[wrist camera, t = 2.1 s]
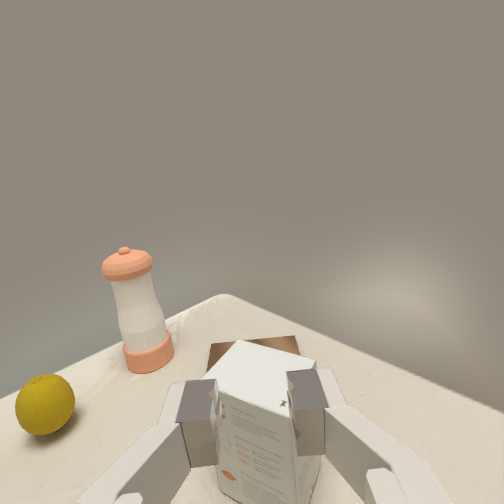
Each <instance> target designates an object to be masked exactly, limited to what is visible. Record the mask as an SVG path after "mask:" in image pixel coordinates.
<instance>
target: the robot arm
mask: <svg viewBox="0 0 504 504" xmlns="http://www.w3.org/2000/svg"><path fill="white" fill-rule="evenodd" d="M286 383H287V388H288V391H287V398H288V407H289V414H290V420H291V423H292V424H293V436H294V441H295V447H296V452H297V457H298V456H313V455H325V456H326V458H327V459H328V460H329V461H330V462H331V463H332V465H333V466H334V467H335V468H336V469H337V471H338V472H339V473H340V474H341V475H342V476H343V478H344V479H345V480H346V481H347V482H348V484H349V485H350V486H351V487H352V488H353V490H354V491H355V492H356V493H357V494H358V495H359V497H360V498H361V499H362V500H363V501H364V503H365V504H453V502H452V501H451V499H450V497H449V496H448V494H447V492H446V491H445V489H444V488H443V486H442V484H441V483H440V481H439V479H438V478H437V476H436V475H435V473H434V471H433V470H432V468H431V466H430V465H429V463H428V462H427V461H426V460H424V459H423V458H422V457H420V456H419V455H418V454H416V453H415V452H414V451H412V450H411V449H410V448H408V447H407V446H406V445H404V444H403V443H402V442H400V441H399V440H398V439H396V438H395V437H394V436H392V435H391V434H390V433H388V432H387V431H386V430H384V429H383V428H382V427H380V426H379V425H378V424H376V423H375V422H374V421H372V420H371V419H370V418H368V417H367V416H366V415H364V414H363V413H362V412H360V411H359V410H358V409H356V408H355V407H354V406H348V405H347V403H346V401H345V398H344V396H343V394H342V392H341V389H340V387H339V385H338V382H337V380H336V378H335V375H334V373H333V371H332V368H331V367H330V366H328V367H320V368H315V369H314V368H313V369H304V370H295V371H286ZM218 390H219V387H218V382H217V379H204V380H191V381H182V382H172V384H171V385H170V387H169V390H168V393H167V396H166V399H165V402H164V405H163V408H162V411H161V414H160V417H159V420H158V423H157V425H154V426H151V427H150V428H149V429H148V430H147V431H146V432H145V433H144V434H143V435H142V436H141V437H140V438H139V439H138V440H137V441H136V442H135V443H134V444H133V445H132V446H131V447H130V448H129V449H128V450H127V451H126V452H125V453H124V454H123V455H122V456H121V457H120V458H119V459H118V460H117V461H116V462H115V463H114V464H113V465H112V466H111V467H110V468H109V469H108V470H107V471H106V472H105V473H104V474H103V475H102V476H101V477H100V478H99V479H98V480H97V481H96V482H95V483H94V484H93V485H92V486H91V487H90V488H89V489H88V490H87V491H86V492H85V493H84V494H83V495H82V496H81V497H80V499H79V501H78V503H77V504H170V503H171V501H172V499H173V498H174V496H175V495H176V493H177V491H178V490H179V488H180V487H181V485H182V484H183V482H184V480H185V479H186V477H187V476H188V474H189V472H190V471H191V468H196V467H203V466H211V465H218V464H219V454H220V437H219V432H220V431H221V430H222V405H221V398H220V397H219V396H218Z"/></svg>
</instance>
